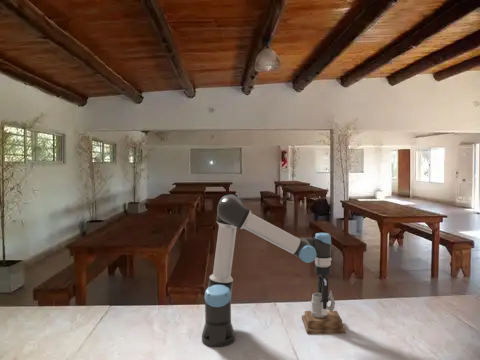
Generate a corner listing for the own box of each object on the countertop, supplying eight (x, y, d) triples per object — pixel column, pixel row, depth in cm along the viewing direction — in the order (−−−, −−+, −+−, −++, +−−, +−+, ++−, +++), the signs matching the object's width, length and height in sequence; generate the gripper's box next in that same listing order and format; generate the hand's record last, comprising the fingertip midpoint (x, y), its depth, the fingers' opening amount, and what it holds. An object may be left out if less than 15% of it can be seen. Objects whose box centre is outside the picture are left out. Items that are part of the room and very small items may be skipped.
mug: (309, 312, 206) (309, 288, 205) (332, 311, 206) (332, 287, 206) (312, 318, 198) (312, 293, 197) (337, 317, 199) (337, 292, 198)
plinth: (307, 333, 194) (307, 323, 193) (301, 318, 212) (301, 308, 211) (345, 333, 194) (345, 323, 193) (337, 318, 212) (337, 308, 211)
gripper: (335, 271, 190) (334, 320, 192) (326, 259, 211) (326, 303, 212) (318, 271, 190) (318, 320, 192) (311, 259, 211) (311, 303, 212)
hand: (322, 311), depth 202 cm, fingers closed on mug, 7 cm apart
